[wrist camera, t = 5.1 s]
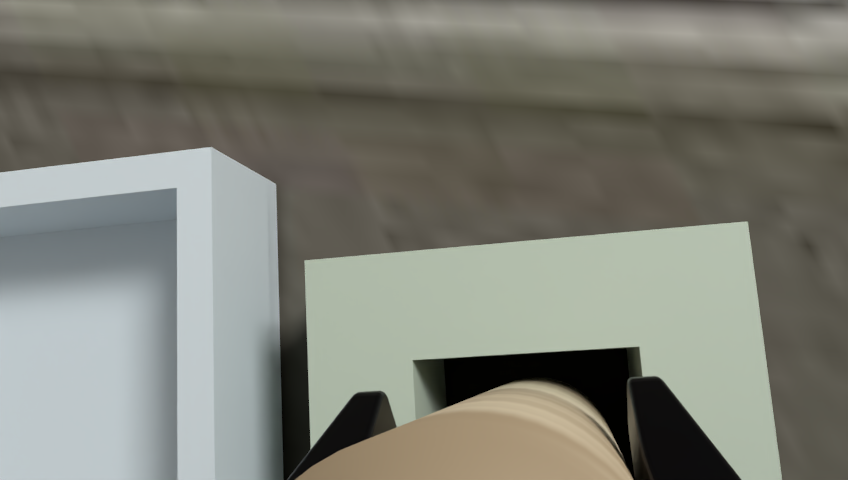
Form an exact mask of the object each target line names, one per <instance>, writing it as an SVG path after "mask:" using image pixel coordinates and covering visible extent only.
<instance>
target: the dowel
mask: <svg viewBox="0 0 848 480" xmlns="http://www.w3.org/2000/svg"><path fill="white" fill-rule="evenodd" d="M295 480H634V479H633V476H632V474H631V472H630V470H629V468H628V466H627V464H626V462H625V460H624V458H623V456H622V453H621V451H620V449H619V447H618V445H617V443H616V441H615V439H614V437H613V435H612V432H611V430H610V428H609V426H608V424H607V422H606V420H605V418H604V417H603V415H602V413H601V412H600V410H599V409H598V408H597V406H596V405H595V404H594V403H593V402H592V401H591V400H590V399H589V398H588V397H587V396H586V395H585V394H583V393H582V392H581V391H580V390H578V389H576V388H575V387H573V386H571V385H569V384H567V383H564V382H562V381H559V380H555V379H552V378H545V377H529V378H522V379H518V380H514V381H512V382H509V383H507V384H504V385H502V386H499V387H497V388H494V389H492V390H489V391H487V392H484V393H482V394H479V395H477V396H474V397H472V398H469V399H467V400H464V401H462V402H459V403H457V404H454V405H452V406H449V407H447V408H444V409H442V410H439V411H437V412H434V413H432V414H429V415H427V416H424V417H422V418H419V419H417V420H414V421H411V422H409V423H406V424H404V425H401V426H399V427H396V428H394V429H391V430H389V431H386V432H384V433H381V434H379V435H376V436H374V437H371V438H369V439H366V440H364V441H361V442H359V443H357V444H354V445H352V446H349V447H347V448H344V449H342V450H339V451H338V452H336V453H334V454H332V455H331V456H329V457H327V458H325V459H324V460H322V461H320V462H319V463H317V464H315V465H313V466H312V467H311V468H309V469H308V470H307V471H305V472H304V473H303V474H302V475H300V476H299V477H298V478H296V479H295Z"/></svg>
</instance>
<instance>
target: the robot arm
mask: <svg viewBox="0 0 848 480" xmlns="http://www.w3.org/2000/svg"><path fill="white" fill-rule="evenodd" d="M627 408H628V428H629V437H630V445H631V453H632V460H633V468H634V476H635V480H741V478H740V477H739V476H738V474H737V473H736V472H735V471H734V469H733V468H732V467H731V466H730V464H729V463H728V462H727V461H726V459H725V458H724V457H723V455H722V454H721V453H720V452H719V450H718V449H717V448H716V447H715V445H714V444H713V443H712V442H711V440H710V439H709V438H708V436H707V435H706V434H705V433H704V431H703V430H702V429H701V428H700V426H699V425H698V424H697V423H696V421H695V420H694V419H693V418H692V416H691V415H690V414H689V412H688V411H687V410H686V409H685V407H684V406H683V405H682V404H681V402H680V401H679V400H678V399H677V397H676V396H675V395H674V393H673V392H672V391H671V390H670V388H669V387H668V386H667V385H666V383H665V382H664V381H663V380H662V379H661V378H660V377H657V376H644V377H631V378H629V379H628V381H627ZM396 427H397V426H396V423H395V420H394V416H393V413H392V410H391V407H390V403H389V400H388V397H387V395H386V394H385V392H383V391H364V392H357V393H356V394H354V395H353V396H352V397H351V398H350V400H349V401H348V402H347V404H346V405H345V406H344V407H343V409H342V410H341V411H340V413H339V414H338V415H337V416H336V418H335V419H334V420H333V421H332V423H331V424H330V425H329V427H328V428H327V429H326V430H325V432H324V433H323V434H322V436H321V437H320V438H319V439H318V441H317V442H316V443H315V444H314V446H313V447H312V448H311V450H310V451H309V452H308V453H307V455H306V456H305V457H304V459H303V460H302V461H301V462H300V464H299V465H298V466H297V468H296V469H295V470H294V471H293V473H292V474H291V475H290V476H289V478H288V479H287V480H295V479H296V478H298V477H299V476H300V475H302V474H303V473H304V472H305V471H307V470H308V469H309V468H311V467H312V466H313V465H315V464H317V463H319V462H320V461H322V460H324V459H325V458H327V457H329V456H331V455H332V454H334V453H336V452H338V451H339V450H342V449H344V448H347V447H349V446H352V445H354V444H357V443H359V442H361V441H364V440H366V439H369V438H371V437H374V436H376V435H379V434H381V433H384V432H386V431H389V430H391V429H394V428H396Z"/></svg>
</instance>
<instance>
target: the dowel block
mask: <svg viewBox="0 0 848 480" xmlns="http://www.w3.org/2000/svg"><path fill="white" fill-rule="evenodd" d="M305 287H306V319H307V351H308V382H309V414H310V446H311V448H312V447H313V446H314V444H315V443H316V442H317V441H318V439H319V438H320V437H321V436H322V434H323V433H324V432H325V430H326V429H327V428H328V427H329V425H330V424H331V423H332V421H333V420H334V419H335V418H336V416H337V415H338V414H339V413H340V411H341V410H342V409H343V407H344V406H345V405H346V404H347V402H348V401H349V400H350V398H351V397H352V396H353V395H354V394H356V393H357V392H364V391H383V392H385V394H386V395H387V397H388V400H389V403H390V407H391V410H392V413H393V416H394V420H395V423H396V426H397V427H399V426H401V425H404V424H406V423H409V422H411V421H414V420H417V419H419V418H422V417H424V416H427V415H429V414H432V413H434V412H437V411H439V410H442V409H444V408H447V402H446V386H445V370H444V359H455V358H472V357H489V356H505V355H522V354H539V353H556V352H572V351H589V350H606V349H622V348H626V350H627V360H628V369H629V378H631V377H644V376H657V377H660V378H661V379H662V380H663V381H664V382H665V383H666V385H667V386H668V387H669V388H670V390H671V391H672V392H673V393H674V395H675V396H676V397H677V399H678V400H679V401H680V402H681V404H682V405H683V406H684V407H685V409H686V410H687V411H688V412H689V414H690V415H691V416H692V418H693V419H694V420H695V421H696V423H697V424H698V425H699V426H700V428H701V429H702V430H703V431H704V433H705V434H706V435H707V436H708V438H709V439H710V440H711V442H712V443H713V444H714V445H715V447H716V448H717V449H718V450H719V452H720V453H721V454H722V455H723V457H724V458H725V459H726V461H727V462H728V463H729V464H730V466H731V467H732V468H733V469H734V471H735V472H736V473H737V474H738V476H739V477H740V478H741V480H782V476H781V469H780V461H779V454H778V446H777V439H776V431H775V424H774V416H773V409H772V401H771V394H770V386H769V379H768V371H767V364H766V356H765V348H764V341H763V333H762V326H761V318H760V311H759V303H758V296H757V288H756V281H755V273H754V266H753V258H752V251H751V243H750V236H749V228H748V222H736V223H725V224H714V225H702V226H691V227H680V228H668V229H657V230H646V231H634V232H623V233H612V234H600V235H589V236H578V237H566V238H555V239H543V240H532V241H521V242H509V243H498V244H487V245H475V246H464V247H453V248H441V249H430V250H419V251H407V252H396V253H385V254H373V255H362V256H351V257H339V258H328V259H317V260H305Z"/></svg>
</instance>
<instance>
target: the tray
mask: <svg viewBox="0 0 848 480" xmlns="http://www.w3.org/2000/svg"><path fill="white" fill-rule="evenodd" d="M0 480H284V478H283V439H282V400H281V361H280V321H279V282H278V243H277V204H276V184H275V183H273V182H271V181H270V180H268V179H266V178H264V177H263V176H261V175H259V174H257V173H256V172H254V171H252V170H250V169H249V168H247V167H245V166H243V165H242V164H240V163H238V162H236V161H235V160H233V159H231V158H229V157H228V156H226V155H224V154H223V153H221V152H219V151H217V150H216V149H214V148H212V147H208V148H200V149H191V150H183V151H175V152H167V153H158V154H150V155H142V156H134V157H125V158H117V159H109V160H101V161H92V162H84V163H76V164H68V165H59V166H51V167H43V168H35V169H26V170H18V171H10V172H2V173H0Z"/></svg>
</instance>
